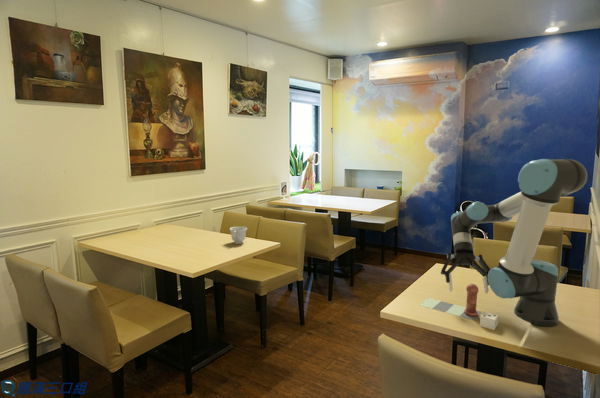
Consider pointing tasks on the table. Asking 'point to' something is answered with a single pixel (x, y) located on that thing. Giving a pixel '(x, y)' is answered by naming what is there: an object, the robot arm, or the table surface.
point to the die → (489, 320)
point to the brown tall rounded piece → (471, 300)
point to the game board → (447, 308)
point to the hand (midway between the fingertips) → (468, 291)
